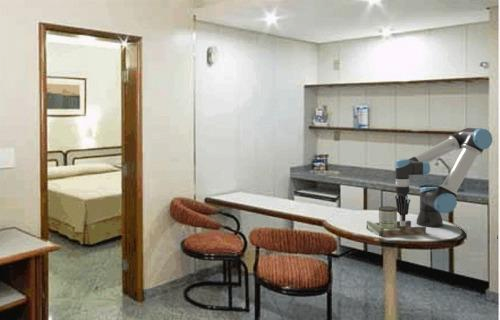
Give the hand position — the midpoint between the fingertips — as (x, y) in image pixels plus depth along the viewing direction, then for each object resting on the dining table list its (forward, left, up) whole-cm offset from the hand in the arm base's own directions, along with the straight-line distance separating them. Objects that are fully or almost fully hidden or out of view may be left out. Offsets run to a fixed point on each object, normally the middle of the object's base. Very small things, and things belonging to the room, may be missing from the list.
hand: (402, 225), depth 270 cm
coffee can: (+9, 0, -3) cm, 10 cm away
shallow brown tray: (+4, 0, -3) cm, 5 cm away
